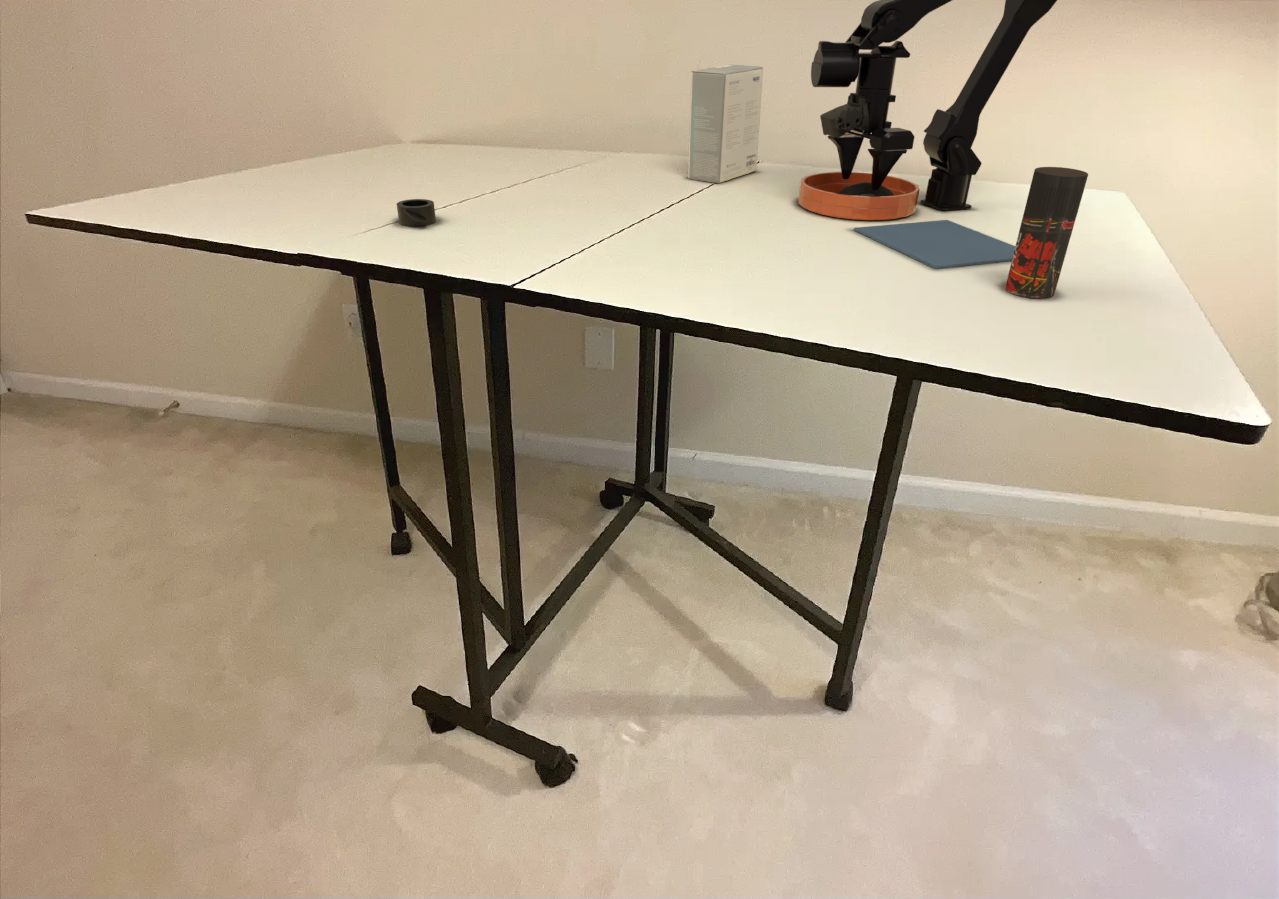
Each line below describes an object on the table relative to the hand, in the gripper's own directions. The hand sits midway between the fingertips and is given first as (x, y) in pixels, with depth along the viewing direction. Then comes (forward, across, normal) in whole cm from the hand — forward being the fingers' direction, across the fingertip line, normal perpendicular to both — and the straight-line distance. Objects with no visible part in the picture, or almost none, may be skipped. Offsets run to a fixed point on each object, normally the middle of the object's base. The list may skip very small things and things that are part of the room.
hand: (859, 184), depth 141 cm
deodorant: (+4, +46, -3) cm, 46 cm away
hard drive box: (+4, -31, -12) cm, 34 cm away
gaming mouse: (+4, 0, 0) cm, 4 cm away
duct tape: (+4, -11, -75) cm, 76 cm away
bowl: (+4, 0, 0) cm, 4 cm away
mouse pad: (+4, +24, 0) cm, 24 cm away
